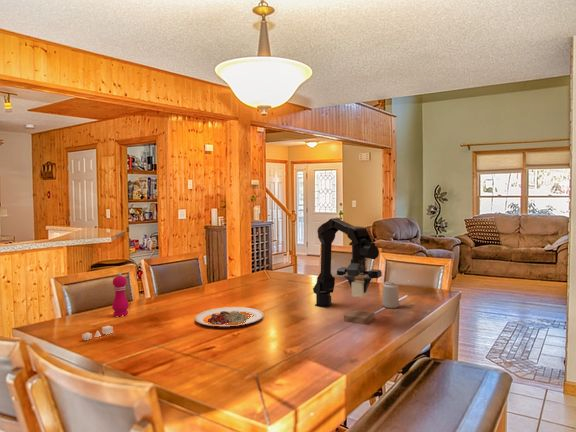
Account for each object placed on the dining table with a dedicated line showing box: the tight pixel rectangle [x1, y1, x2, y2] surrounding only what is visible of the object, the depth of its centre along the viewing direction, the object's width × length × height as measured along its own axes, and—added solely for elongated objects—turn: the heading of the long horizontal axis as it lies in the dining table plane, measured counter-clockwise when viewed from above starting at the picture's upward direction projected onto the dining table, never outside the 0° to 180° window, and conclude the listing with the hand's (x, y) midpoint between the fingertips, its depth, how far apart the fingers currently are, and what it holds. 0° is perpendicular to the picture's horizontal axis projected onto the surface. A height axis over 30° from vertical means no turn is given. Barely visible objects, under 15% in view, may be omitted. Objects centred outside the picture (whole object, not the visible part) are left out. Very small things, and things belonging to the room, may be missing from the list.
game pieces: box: [81, 325, 114, 341], centre depth 179 cm, size 12×3×3 cm, turn 145°
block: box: [350, 280, 368, 298], centre depth 196 cm, size 5×5×6 cm
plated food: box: [194, 306, 264, 328], centre depth 201 cm, size 30×30×3 cm
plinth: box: [343, 309, 375, 325], centre depth 196 cm, size 10×10×3 cm
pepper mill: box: [111, 272, 130, 317], centre depth 209 cm, size 7×7×20 cm
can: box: [382, 280, 400, 309], centre depth 216 cm, size 8×8×12 cm
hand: (359, 292), depth 196 cm, fingers closed on block, 5 cm apart
